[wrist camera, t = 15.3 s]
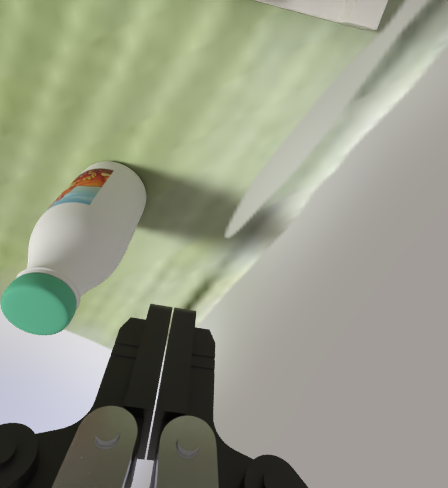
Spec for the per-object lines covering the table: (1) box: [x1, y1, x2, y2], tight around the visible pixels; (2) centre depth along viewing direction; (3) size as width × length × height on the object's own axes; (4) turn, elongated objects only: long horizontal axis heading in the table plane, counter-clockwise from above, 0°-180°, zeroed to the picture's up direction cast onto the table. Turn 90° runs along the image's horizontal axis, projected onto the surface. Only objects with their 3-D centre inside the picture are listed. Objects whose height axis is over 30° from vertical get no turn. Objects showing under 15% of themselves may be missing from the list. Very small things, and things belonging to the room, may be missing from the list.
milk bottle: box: [1, 161, 147, 335], centre depth 32 cm, size 8×8×20 cm
